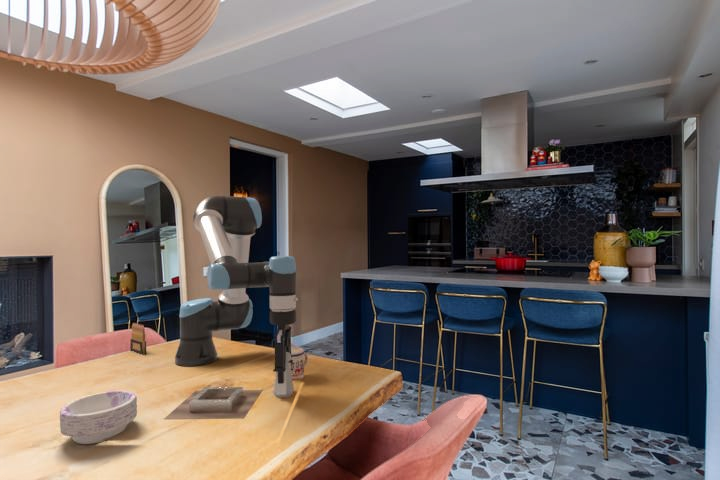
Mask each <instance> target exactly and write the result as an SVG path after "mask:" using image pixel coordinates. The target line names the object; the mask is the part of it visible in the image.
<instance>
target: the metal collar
mask: <svg viewBox="0 0 720 480" xmlns="http://www.w3.org/2000/svg"><path fill="white" fill-rule="evenodd" d="M243 390H244V386H221V387H220V386H218V387H217V386H210V387H207V386H206V387H204V388H202V389H201V390H199V391H200V392H199V393H198V394H197V395H196V396H195V397H194V398H193V399H192V400H191V401H190V402H189V412H204V411H232V410H233V408H234V407H235V406H236V405H237V403H238V402H239V401H240V399H241V398H242V397H243ZM208 398H228V399H221V400H207V399H208Z"/></svg>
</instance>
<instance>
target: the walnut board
mask: <svg viewBox="0 0 720 480" xmlns="http://www.w3.org/2000/svg"><path fill="white" fill-rule="evenodd" d="M200 391H201V390H195V391H194V392H193V393H192V394H190V395H189V396H188V397H187V398H185V399H184V400H183V402H181V403H180V404H179V405H178V406H177V407H175V409H174V410H172V411H171V412H170V413H169V414H168V415H166V417H164V418H163V420H212V419H213V420H220V419H221V420H222V419H225V420H226V419H231V420H233V419H236V420H237V419H245V418H246V416H247V415H248V413H249V411H250V410H251V408H252V407H253V405H254V404H255V402H256V401H257V399H258V398H259V396H260V395H261V394H262V392H263V389H243V397H242V398H241V399H240V401H239V402H238V403H237V405H236V406H235V407H234V408H233V410H232V411H204V412H189V402H190V401H191V400H192V399H193V398H194V397H195V396H196V395H197V394H198V393H199V392H200ZM221 399H228V398H208V399H207V400H221Z"/></svg>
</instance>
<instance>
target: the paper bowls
mask: <svg viewBox="0 0 720 480" xmlns="http://www.w3.org/2000/svg"><path fill="white" fill-rule="evenodd" d="M137 398H138V397H137V395H136V394H135V393H134V392H132V391H129V390H110V391H103V392H98V393H94V394H89V395H85V396H82V397H79V398H76V399H74V400H72V401H70V402H68V403H66V404H65V405H64V406H62V408H61V409H60V411H59V428H60V429H59V430H60V434H62V435H63V436H65V437H66V436H67V437H71V439H72V440H73V441H74V442H75V443H77V444H80V445H81V444H82V445H90V444H91V445H93V444H99V443H104V442H106V441H108V438H111V437H115V436H116V435H118V434H121V433H122V432H123V431H125V430H126V428H127V426H128V424H130V423H132V422H133V421H134V420H135V419H136V417H137V414H138V409H137V408H138V404H137V402H138V401H137V400H138V399H137Z"/></svg>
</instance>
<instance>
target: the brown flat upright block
mask: <svg viewBox="0 0 720 480" xmlns="http://www.w3.org/2000/svg"><path fill="white" fill-rule="evenodd" d="M130 333H131V335H130V337H131V338H130V347H129V348H130V349H129V351H130V352H132V351H134V352H133V353H135V352H136V354H138V353H139V355H141V354H143V355H147V341H146V332H145V326H144V324H140V323H136V322H133V323H132V325H131V332H130Z"/></svg>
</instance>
